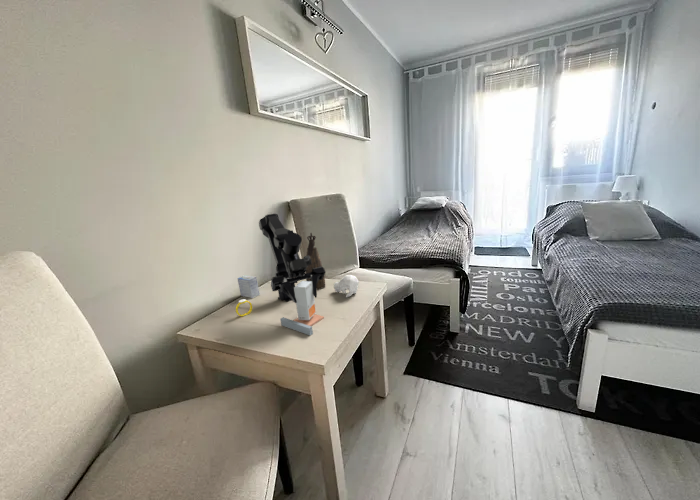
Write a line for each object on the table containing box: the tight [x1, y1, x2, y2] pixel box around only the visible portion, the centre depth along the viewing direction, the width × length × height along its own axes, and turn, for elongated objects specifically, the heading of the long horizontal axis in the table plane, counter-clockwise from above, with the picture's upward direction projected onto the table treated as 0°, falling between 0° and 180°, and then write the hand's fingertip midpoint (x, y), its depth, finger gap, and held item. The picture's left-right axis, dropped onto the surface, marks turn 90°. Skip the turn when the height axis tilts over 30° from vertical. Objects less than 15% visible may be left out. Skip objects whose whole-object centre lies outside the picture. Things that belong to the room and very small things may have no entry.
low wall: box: [280, 316, 314, 336], centre depth 96 cm, size 1×14×2 cm, turn 52°
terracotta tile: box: [292, 313, 325, 327], centre depth 101 cm, size 8×8×1 cm
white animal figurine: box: [333, 274, 360, 298], centre depth 121 cm, size 6×8×12 cm
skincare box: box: [294, 280, 317, 320], centre depth 100 cm, size 6×4×12 cm
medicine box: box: [237, 274, 261, 299], centre depth 130 cm, size 8×4×9 cm, turn 58°
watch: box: [235, 298, 253, 317], centre depth 111 cm, size 6×3×6 cm, turn 133°
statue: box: [305, 232, 326, 290], centre depth 131 cm, size 9×8×25 cm
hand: (306, 299), depth 98 cm, fingers closed on skincare box, 7 cm apart
